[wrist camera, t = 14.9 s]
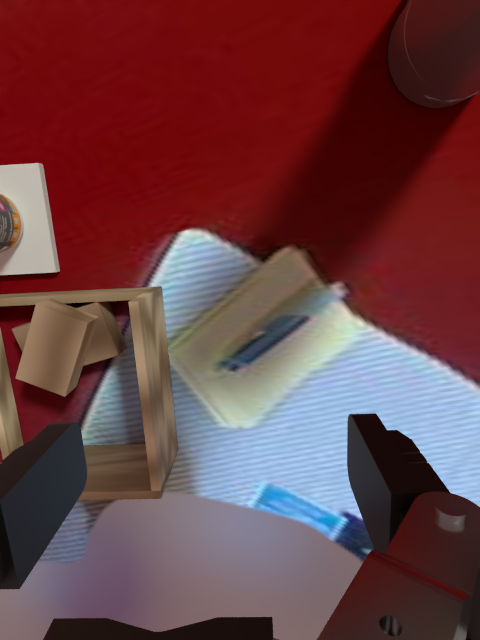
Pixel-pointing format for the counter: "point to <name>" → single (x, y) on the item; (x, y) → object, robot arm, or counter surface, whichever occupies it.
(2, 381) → the wooden box frame
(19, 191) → the tile
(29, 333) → the offcut block upper
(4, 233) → the pill bottle
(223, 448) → the counter surface
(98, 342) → the offcut block lower
